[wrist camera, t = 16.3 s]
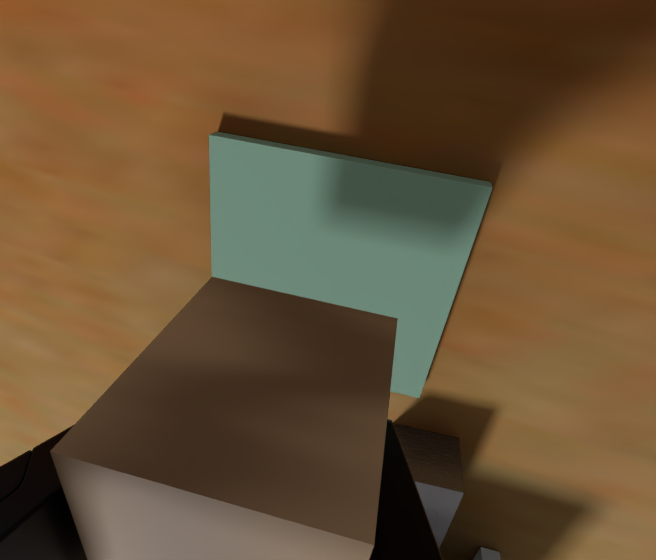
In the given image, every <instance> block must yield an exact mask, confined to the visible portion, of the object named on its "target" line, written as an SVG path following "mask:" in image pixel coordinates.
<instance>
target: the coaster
mask: <svg viewBox="0 0 656 560" xmlns="http://www.w3.org/2000/svg"><path fill="white" fill-rule="evenodd" d="M209 159H210V210H211V261H212V277H216V278H220V279H225V280H229V281H234V282H238V283H243V284H247V285H251V286H256V287H260V288H265V289H269V290H274V291H278V292H283V293H287V294H291V295H296V296H300V297H305V298H309V299H314V300H318V301H323V302H327V303H331V304H336V305H340V306H345V307H349V308H354V309H358V310H362V311H367V312H371V313H376V314H380V315H385V316H389V317H394V318H398V320H397V330H396V340H395V349H394V359H393V369H392V378H391V388H390V391H391V392H395V393H399V394H404V395H408V396H412V397H416V398H420V395H421V392H422V389H423V386H424V383H425V380H426V377H427V375H428V372H429V369H430V366H431V363H432V360H433V357H434V354H435V352H436V349H437V346H438V343H439V340H440V337H441V334H442V332H443V329H444V326H445V323H446V320H447V317H448V314H449V311H450V309H451V306H452V303H453V300H454V297H455V294H456V291H457V289H458V286H459V283H460V280H461V277H462V274H463V271H464V268H465V266H466V263H467V260H468V257H469V254H470V251H471V248H472V246H473V243H474V240H475V237H476V234H477V231H478V228H479V225H480V223H481V220H482V217H483V214H484V211H485V208H486V205H487V203H488V200H489V197H490V194H491V191H492V188H493V187H492V185H491V183H490V182H488V181H482V180H477V179H472V178H466V177H461V176H455V175H450V174H444V173H439V172H434V171H428V170H423V169H417V168H412V167H407V166H401V165H396V164H390V163H385V162H379V161H374V160H369V159H363V158H358V157H352V156H347V155H342V154H336V153H331V152H325V151H320V150H314V149H309V148H304V147H298V146H293V145H287V144H282V143H276V142H271V141H266V140H260V139H255V138H249V137H244V136H239V135H233V134H228V133H222V132H215V133H212V134H210V135H209Z"/></svg>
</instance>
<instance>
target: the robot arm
mask: <svg viewBox="0 0 656 560" xmlns="http://www.w3.org/2000/svg"><path fill="white" fill-rule="evenodd" d="M73 426H74V425H73ZM73 426H71V427H69V428H68V429H66V430H64V431H62V432H61V433H59V434H57V435H55V436H54V437H52V438H50V439H48V440H47V441H45V442H43V443H41V444H40V445H38V446H36V447H34V448H33V450H32V451H31V450H29V451H27V452H25V453H24V454H22V455H20V456H18V457H17V458H15V459H13V460H11V461H9V462H8V463H6V464H4V465H2V466H0V560H87V557H86V554H85V551H84V548H83V545H82V543H81V540H80V537H79V534H78V531H77V528H76V525H75V522H74V520H73V517H72V514H71V511H70V508H69V505H68V502H67V499H66V497H65V494H64V491H63V488H62V485H61V482H60V479H59V476H58V474H57V471H56V468H55V465H54V462H53V459H52V456H51V454H50V451H51V450H52V449H53V448H54V446H55V445H56V444H57V443H58V442H59V441H60V440H61V439H62V438H63V437H64V436H65V435H66V434H67V432H68V431H69V430H70V429H71V428H72V427H73ZM369 560H443V558H442V556H441V553H440V550H439V547H438V545H437V542H436V539H435V536H434V533H433V531H432V528H431V525H430V522H429V520H428V517H427V514H426V511H425V509H424V506H423V503H422V500H421V498H420V495H419V492H418V489H417V487H416V484H415V481H414V478H413V476H412V473H411V470H410V467H409V465H408V462H407V459H406V456H405V454H404V451H403V448H402V445H401V443H400V440H399V437H398V434H397V432H396V429H395V426H394V423H393V422H392V421H391V420H389V419H387V427H386V436H385V446H384V456H383V465H382V475H381V484H380V494H379V504H378V513H377V523H376V533H375V542H374V547H373V550H372V553H371V556H370V558H369Z"/></svg>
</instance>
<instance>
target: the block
mask: <svg viewBox="0 0 656 560" xmlns="http://www.w3.org/2000/svg"><path fill="white" fill-rule="evenodd" d="M397 320H398V318H394V317H389V316H385V315H380V314H376V313H371V312H367V311H362V310H358V309H354V308H349V307H345V306H340V305H336V304H331V303H327V302H323V301H318V300H314V299H309V298H305V297H300V296H296V295H291V294H287V293H283V292H278V291H274V290H269V289H265V288H260V287H256V286H251V285H247V284H243V283H238V282H234V281H229V280H225V279H220V278H216V277H212V278H211V279H210V280H209V281H208V282H207V283H206V284H205V285H204V286H203V287H202V288H201V289H200V290H199V292H198V293H197V294H196V295H195V296H194V297H193V298H192V299H191V300H190V301H189V302H188V303H187V304H186V306H185V307H184V308H183V309H182V310H181V311H180V312H179V313H178V314H177V315H176V316H175V317H174V318H173V320H172V321H171V322H170V323H169V324H168V325H167V326H166V327H165V328H164V329H163V330H162V331H161V332H160V334H159V335H158V336H157V337H156V338H155V339H154V340H153V341H152V342H151V343H150V344H149V345H148V346H147V347H146V349H145V350H144V351H143V352H142V353H141V354H140V355H139V356H138V357H137V358H136V359H135V360H134V361H133V363H132V364H131V365H130V366H129V367H128V368H127V369H126V370H125V371H124V372H123V373H122V374H121V375H120V377H119V378H118V379H117V380H116V381H115V382H114V383H113V384H112V385H111V386H110V387H109V388H108V389H107V391H106V392H105V393H104V394H103V395H102V396H101V397H100V398H99V399H98V400H97V401H96V402H95V403H94V405H93V406H92V407H91V408H90V409H89V410H88V411H87V412H86V413H85V414H84V415H83V416H82V417H81V419H80V420H79V421H78V422H77V423H76V424H75V425H74V426H73V427H72V428H71V429H70V430H69V431H68V432H67V434H66V435H65V436H64V437H63V438H62V439H61V440H60V441H59V442H58V443H57V444H56V445H55V446H54V448H53V449H52V450H51V451H50V454H51V456H52V459H53V462H54V465H55V468H56V471H57V474H58V476H59V479H60V482H61V485H62V488H63V491H64V494H65V497H66V499H67V502H68V505H69V508H70V511H71V514H72V517H73V520H74V522H75V525H76V528H77V531H78V534H79V537H80V540H81V543H82V545H83V548H84V551H85V554H86V557H87V560H369V558H370V556H371V553H372V550H373V547H374V542H375V533H376V523H377V513H378V504H379V494H380V484H381V475H382V465H383V456H384V446H385V436H386V427H387V417H388V407H389V398H390V388H391V378H392V369H393V359H394V349H395V340H396V330H397Z"/></svg>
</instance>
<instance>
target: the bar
mask: <svg viewBox="0 0 656 560" xmlns="http://www.w3.org/2000/svg"><path fill="white" fill-rule="evenodd" d="M394 426H395V429H396V432H397V434H398V437H399V440H400V443H401V445H402V448H403V451H404V454H405V456H406V459H407V462H408V465H409V467H410V470H411V473H412V476H413V478H414V481H415V484H416V487H417V489H418V492H419V495H420V498H421V500H422V503H423V506H424V509H425V511H426V514H427V517H428V520H429V522H430V525H431V528H432V531H433V533H434V536H435V539H436V542H437V545H438V547H439V549H440V546H441V544H442V542H443V540H444V537H445V535H446V533H447V531H448V528H449V526H450V524H451V522H452V519H453V517H454V515H455V512H456V510H457V508H458V506H459V503H460V501H461V499H462V497H463V494H464V486H463V476H462V466H461V455H460V445H459V438H456V437H451V436H447V435H442V434H438V433H434V432H429V431H425V430H420V429H416V428H411V427H407V426H402V425H398V424H394Z"/></svg>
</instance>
